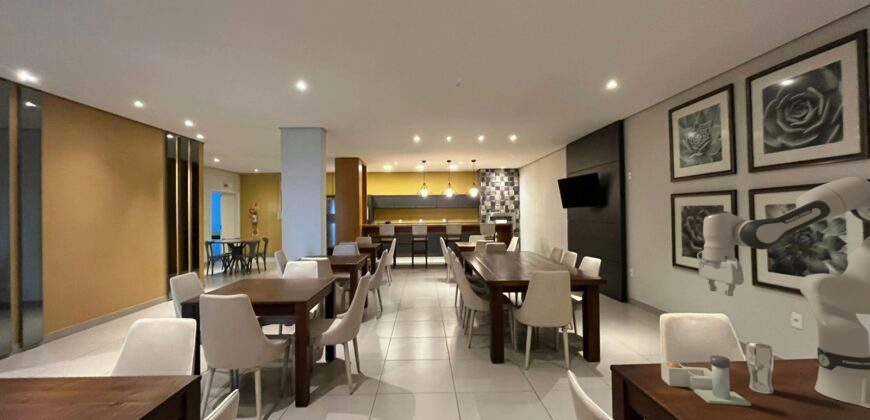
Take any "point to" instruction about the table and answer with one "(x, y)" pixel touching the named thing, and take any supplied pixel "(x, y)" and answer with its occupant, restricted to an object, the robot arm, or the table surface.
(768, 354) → the beer glass
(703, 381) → the housing
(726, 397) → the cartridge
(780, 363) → the table surface
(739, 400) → the mat
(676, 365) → the release button
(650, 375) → the table surface
